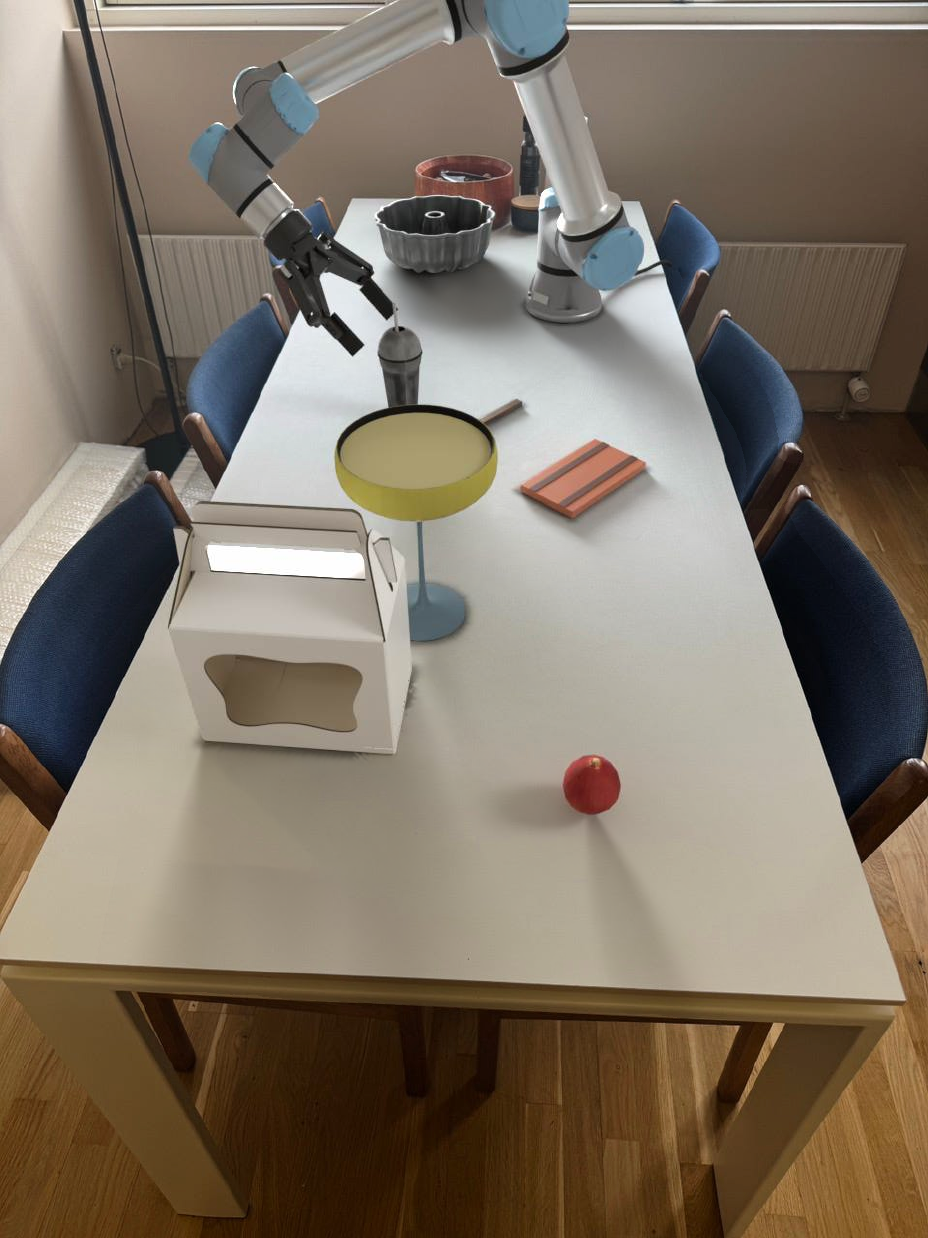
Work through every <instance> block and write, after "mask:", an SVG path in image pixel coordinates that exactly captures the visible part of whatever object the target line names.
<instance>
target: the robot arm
mask: <svg viewBox="0 0 928 1238" xmlns="http://www.w3.org/2000/svg"><path fill="white" fill-rule="evenodd" d="M569 15H570V2H569V0H395V1H393V2H391V3H389V4H387V5H385V6H383V7H381V8H379V9H377V10H375V11H373V12H371V13H369V14H367V15H364V16H363V17H361V18H358V19H357V20H355V21H353V22H351V23H349V24H347V25H345V26H343V27H341V28H340V29H338V30H335V31H333V32H331V33H330V34H328V35H325V36H324V37H322V38H320V39H318V40H316V41H314V42H312V43H310V44H307V45H306V46H303V47H302V48H300V49H297V50H296V51H294V52H292V53H290V54H288V55H286V56H284V57H282V58H280V59H278V60H276V61H274V62H272V63H270V64H267V65H265V66H263V67H257V66H251V67H247V68H245V69H243V70H241V72H240V73H238V75H237V76H236V78H235V80H234V82H233V88H232V95H233V100H234V103H235V107H236V110H237V112H238V113H239V115H240V116H241V117H240V118H239V120H238V121H237V122H236V123H235V124H234V125H233V126H231V127H230V128H228V127H226V126H225V125H224V124H223V123H221V122H215V123H213V124H211V125H209V127H207V128H206V129H205V130H204V131H202V133H201V134H200V135H199V136H198V137H197V138H196V139H195V140H194V142H193V143H192V145H191V146H190V149H189V152H188V160H189V163H190V165H191V166H192V167H193V169H194V170H195V171H196V172H197V174H199V175H200V177H201V178H202V179H203V181H204V182H205V184H206V185H207V186H209V188H210V189H211V190H212V191H213V192H214V193H215V194H216V195H217V196H218V197H219V198H220V199H221V200H222V201H223V203H225V205H227V207H228V208H229V209H230V210H231V211H232V212H233V213H234V214H235V215H236V216H237V217H238V218H239V220H241V222H243V224H244V225H245V226H246V227H247V228H248V229H249V230H250V231H251V233H252V234H254V236H255V237H256V238H257V239H258V240H263V246H264V247H265V248H266V250H268V251H269V252H270V254H271V255H272V256H273V258H275V259H276V260H277V261H279V262H282V261H284V260H285V261H284V263H282V265H281V266H280V267H279V268H278V269H277V273H278V275H279V276H280V277H281V278H282V280H283V281H284V282H285V283H286V286H287V287H288V289H289V291H290V293H291V295H292V297H293V299H294V301H295V303H296V306H298V309H299V311H300V313H301V314H302V317H303V318H304V321H305V322H306V325H308V326H309V327H310V328H312V327H314V328H316V329H319V328H320V327H321V326H322V327H323V328H324V329H325V331H327V333H328V334H329V335H330V336H331V337H332V338H333V339H334V340H336V341H337V343H339V344H340V345H341V346H342V347H343V348H344V350H346V351H347V353H348V354H349V355H350V356H351V357H352V358H353V357H354V356H355V355H356V354H358V352H359V351H360V350H362V349H363V348H364V347H365V343H364V342H363V341H362V340H361V339H360V338H359V337H358V336H357V334H356V333H354V332H353V330H352V329H351V328H350V327H349V325H347V323H346V322H345V321H344V320H343V319H342V318H341V317H340V316H339V315H338V313H336V312H335V311H334V312H333V313H332V314H331V311H330V307H329V305H328V301H327V298H326V295H325V292H324V288H323V285H322V282H321V276H322V275H323V274H328V273H330V274H333V275H334V276H337V277H340V278H342V279H343V280H346V281H348V282H351V283H353V284H354V285H355V284H356V285H357V286H360V288H359V289H358V291H359V292H360V293H361V294H362V295H363V296H364V297H365V299H366V300H367V301H368V302H369V303H370V304H371V305H372V306H373V307H374V308H375V310H377V312H378V313H379V314H380V315H381V316H382V317H383V318H384V319H385V321H388V320H390V319H391V317H393V316H394V313H393V303H394V302H393V301H392V300H391V298H389V296H387V295H386V293H385V292H384V290H383V289H382V288H381V287H380V286H379V285H378V284H377V283H376V281H375V280H374V279H373V278H372V276H374V275H375V270H374V267H373V265H372V264H371V263H369V262H368V261H366V260H365V259H364V258H362V257H361V256H359V255H358V254H356V253H355V252H353V251H352V250H351V249H349V248H347V247H346V246H344V245H343V244H341V243H340V242H339V241H337V240H336V239H335V238H334V237H333V236H332V235H331V234H330V233H329V232H328V231H326V230H323V231H322V232H321V233H320V234H319V236H318V237H315V236H314V235H313V233H312V232H313V230H314V226H313V224H312V223H311V221H310V220H309V219H308V218H307V217H306V216H305V215H304V213H303V212H302V211H301V210H300V209H297V208H295V209H294V202H293V200H291V198H290V197H289V196H288V195H287V194H286V193H285V192H284V191H283V190H282V189H281V188H280V187H279V185H278V184H277V183H276V182H275V181H274V180H273V178H271V177H270V175H269V172H270V171H271V170H272V169H273V168H274V167H275V166H276V165H277V164H278V163H279V162H280V161H281V160H282V159H283V158H284V156H286V155H287V154H288V153H289V152H290V150H291V149H292V148H294V146H295V145H296V144H297V143H298V142H299V141H300V140H301V139H302V138H303V137H304V136H305V135H307V134H308V133H309V131H310V129H311V128H312V126H313V125H314V124H315V123H316V121H318V119H319V117H320V110H319V108H318V106H317V104H319V103H321V102H322V101H325V100H326V99H329V98H331V97H333V96H335V95H337V94H339V93H341V92H343V91H345V90H347V89H349V88H351V87H352V86H355V85H357V84H358V83H361V82H363V81H364V80H367V79H369V78H371V77H372V76H375V75H377V74H378V73H381V72H383V71H385V70H387V69H389V68H391V67H393V66H394V65H397V64H399V63H401V62H402V61H404V60H406V59H409V58H411V57H413V56H414V55H416V54H419V53H421V52H423V51H424V50H427V49H429V48H430V47H433V46H435V45H437V44H438V43H441V42H443V43H445V44H447V45H450V46H451V45H453V44H455V43H457V42H459V41H460V40H463V39H466V38H472V37H483V38H484V39H485V40H486V42H487V44H488V47H489V49H490V52H491V55H492V58H493V60H494V63H495V66H496V68H497V71H498V73H499V75H500V76H501V77H502V78H505V79H508V80H509V81H512V82H513V85H514V87H515V90H516V94H517V97H518V98H519V101H520V104H521V107H522V109H523V112H524V114H525V117H526V120H527V123H528V126H529V128H530V131H531V133H532V136H533V139H534V141H535V145H536V147H537V149H538V152H539V155H540V157H541V160H542V164H543V166H544V168H545V171H546V174H547V177H548V180H549V182H550V184H551V187H548V188H546V189H544V190H543V192H542V193H541V194H540V195H541V196H540V200H539V207H538V229H537V252H536V253H537V254H536V268H535V272H534V274H533V276H532V280H531V283H530V285H529V288H528V291H527V292H526V297H525V309H526V311H527V312H528V313H529V314H530V315H532V316H534V317H535V318H537V319H539V320H542V321H546V322H550V323H551V322H552V323H558V324H572V323H580V322H584V321H588V320H591V319H593V318H595V317H596V316H597V315H599V314H600V312H601V310H602V295H601V292H600V291H603V292H609V291H614V290H617V289H619V288H621V287H623V286H624V285H626V284H627V283H628V282H629V281H631V279H633V278H634V277H635V276H638V275H641V274H644V273H647V272H649V271H651V270H653V269H655V268H657V267H659V266H661V265H667V266H668V267H670V268H671V267H672V268H673V267H674V264H673V263H672V262H671V261H669V260H667V259H662V260H659V261H656V262H655V263H652V264H650V265H648V266H647V267H644V268H641V269H639V267H640V265H641V264H642V262H643V259H644V254H645V243H644V240H643V237H642V236H641V234H640V233H639V231H638V230H637V229H636V228H634V227H633V226H631V225H630V223H629V221H628V218H627V217H628V216H627V214H626V211H625V208H624V205H623V202H622V199H621V197H620V195H619V194H618V193H616V192H613V191H610V190H609V188H608V184H607V182H606V178H605V176H604V172H603V169H602V166H601V163H600V160H599V157H598V154H597V150H596V148H595V145H594V141H593V139H592V135H591V131H590V129H589V126H588V123H587V120H586V117H585V114H584V111H583V107H582V105H581V101H580V98H579V95H578V92H577V89H576V86H575V82H574V80H573V76H572V72H571V70H570V67H569V64H568V60H567V57H566V52H567V50H568V48H569V45H570V42H571V36H570V33H569V29H568V26H567V21H568V19H569ZM638 269H639V270H638ZM398 311H399V308H398V307H397V306H396V312H398Z"/></svg>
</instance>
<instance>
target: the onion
mask: <svg viewBox="0 0 928 1238" xmlns="http://www.w3.org/2000/svg"><path fill="white" fill-rule="evenodd" d="M621 786H622V784H621V779H620V775H619V772H618V770H617V769H616V767H615V766H614V765H613V763H612V762H611V761H609V760H608V759H606V758H605V757H604V756H601V755H597V754H588V755H587V754H586V755H582V756H581V757H579V758H577V759H575V760H574V761H572V762H571V763H570V764H569V766H568V767H567V768H566V770H565V771H564V776H563V780H562V790H563V795H564V798H565V800H566V801H567V803H568V804H569V805H570V806H571V807H572V809H574V810H575V811H577V812H579V813H581V814H584V815H588V816H593V815H599V814H601V813H605V812H606V811H608V810H610V809H611V808H612V807H613V806H615V804H616V803H617V802H618V800H619V797H620V793H621V788H622V787H621Z"/></svg>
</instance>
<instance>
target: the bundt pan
mask: <svg viewBox="0 0 928 1238" xmlns="http://www.w3.org/2000/svg"><path fill="white" fill-rule="evenodd" d="M495 219H496V212H495V211H494V210H492V205H488V204H485V203H484V202H483V201H481V200H479V199H475V198H467V197H466V198H465V197H464V196H461V195H457V196H456V195H453V196H450V195H445V194H433V195H426V196H412V197H411V198H404V199H398V200H395V201H393V202H390V203H389V204H388V205H385V206H381V207H380V209H379V211H377V212H376V213H375V214H374V220H375V221H376V222H375V224H376V227H378V230H379V234H380V238H381V242H382V248H383V251H384V254H385V257H387V259H388V260H389V261H390V262H392V263H394V264H396V265H398V266H399V267H401V268H403V269H407V270H414V272H415V273H417V274H420V273H423V272H424V271H426V272H428V273H432V274H437V273H440V272H443V271H446V272H447V273H453V272H454V271H455V270H456V269H458V270H463V269H466V268H469V267H470V266H471V265H474V264H477V263H478V262H480V261H481V260H482V259H483V258H484V256H485V255H486V252H487V250H488V248H489V245H490V242H491V234H492V229H493V224H494V223H493V222H494V220H495Z"/></svg>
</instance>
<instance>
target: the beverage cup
mask: <svg viewBox="0 0 928 1238" xmlns="http://www.w3.org/2000/svg"><path fill="white" fill-rule="evenodd" d="M396 307H397V303H396V302H393V313H394V314H393V321H394V325H393V326H391V327H389V328H387V329H386V330H385V331H384V332H383V333H382V335H381V337H380V339H379V340H378V346H377V353H376V354H377V357H378V360H379V365H380V367H381V370H382V375H383V376H382V377H383V383H384V389H385V394H386V400H387V408H389V407H394V406H402V405H414V404H419V391H420V390H419V387H420V369H421V367H420V366H421V363H422V357H423V349H422V344H421V341H420V338H419V337H418V335H417V334H416V332H414V331H413V330H412V329H411V328H409V327H407V326H404V325H399V321H398V311H396Z"/></svg>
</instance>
